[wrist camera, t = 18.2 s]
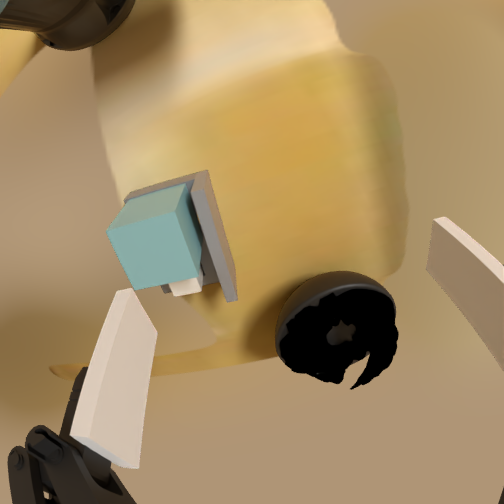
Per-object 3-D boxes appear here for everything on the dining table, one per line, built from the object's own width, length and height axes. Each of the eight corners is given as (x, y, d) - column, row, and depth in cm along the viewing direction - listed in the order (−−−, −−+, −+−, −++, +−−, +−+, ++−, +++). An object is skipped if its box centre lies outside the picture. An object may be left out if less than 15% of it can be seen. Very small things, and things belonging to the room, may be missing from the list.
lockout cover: (128, 199, 35) (105, 231, 27) (185, 183, 35) (174, 211, 27) (149, 250, 39) (134, 290, 31) (202, 237, 39) (198, 276, 31)
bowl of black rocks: (383, 300, 53) (425, 372, 37) (297, 346, 57) (317, 425, 41) (352, 224, 43) (413, 302, 27) (244, 285, 48) (256, 382, 32)
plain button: (169, 254, 41) (163, 273, 37) (195, 248, 41) (192, 267, 36) (178, 276, 43) (174, 296, 39) (203, 271, 43) (201, 291, 39)
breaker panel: (130, 192, 37) (111, 215, 31) (207, 169, 37) (204, 188, 30) (167, 281, 46) (159, 315, 39) (235, 267, 45) (237, 300, 39)
